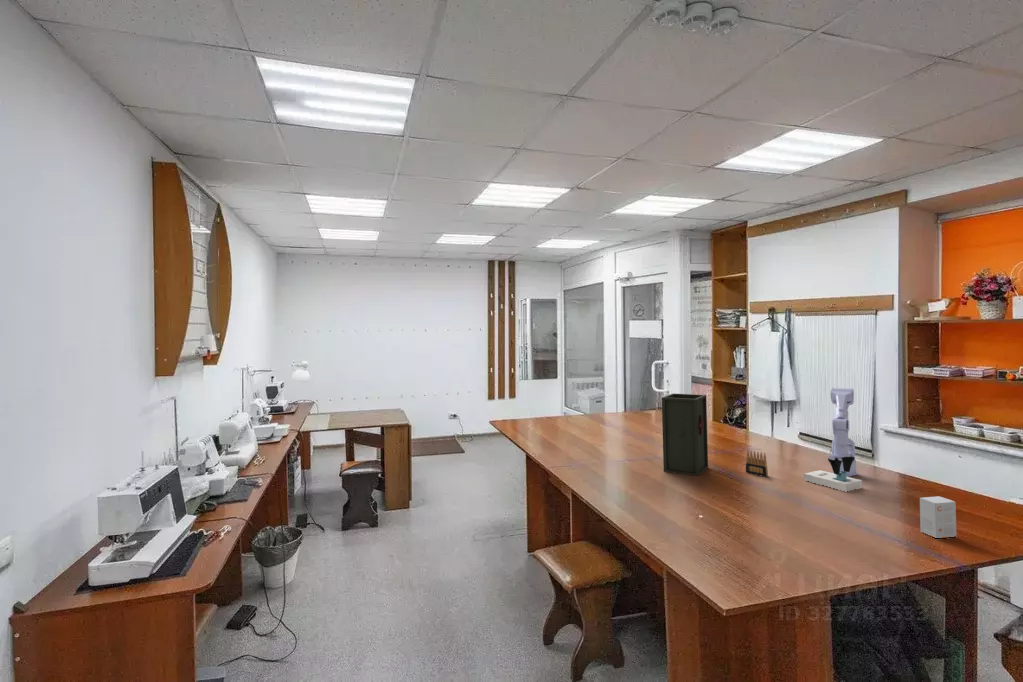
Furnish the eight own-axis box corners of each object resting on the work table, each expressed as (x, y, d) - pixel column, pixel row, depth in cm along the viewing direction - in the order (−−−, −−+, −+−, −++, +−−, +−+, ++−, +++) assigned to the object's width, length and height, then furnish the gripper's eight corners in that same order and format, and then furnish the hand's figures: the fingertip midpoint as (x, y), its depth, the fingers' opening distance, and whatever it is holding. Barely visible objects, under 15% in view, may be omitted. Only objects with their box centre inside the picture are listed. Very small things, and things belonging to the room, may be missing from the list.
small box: (939, 531, 182) (939, 495, 182) (957, 538, 176) (956, 501, 176) (919, 532, 181) (919, 497, 181) (936, 539, 175) (935, 503, 175)
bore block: (820, 477, 250) (819, 470, 250) (862, 487, 231) (861, 480, 231) (804, 480, 245) (804, 473, 245) (845, 492, 227) (845, 484, 226)
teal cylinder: (839, 484, 237) (839, 470, 237) (848, 487, 233) (848, 472, 233) (834, 486, 235) (834, 471, 235) (843, 488, 231) (843, 473, 231)
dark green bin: (674, 463, 284) (672, 393, 283) (708, 467, 273) (706, 395, 272) (663, 471, 269) (661, 397, 268) (698, 476, 258) (696, 399, 257)
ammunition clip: (767, 476, 254) (767, 452, 254) (766, 476, 253) (765, 453, 253) (747, 471, 263) (746, 449, 262) (745, 472, 262) (745, 449, 261)
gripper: (839, 447, 227) (840, 477, 227) (859, 443, 233) (860, 472, 233) (824, 444, 233) (825, 473, 234) (844, 441, 239) (844, 468, 240)
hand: (841, 472), depth 234 cm, fingers open, 7 cm apart
